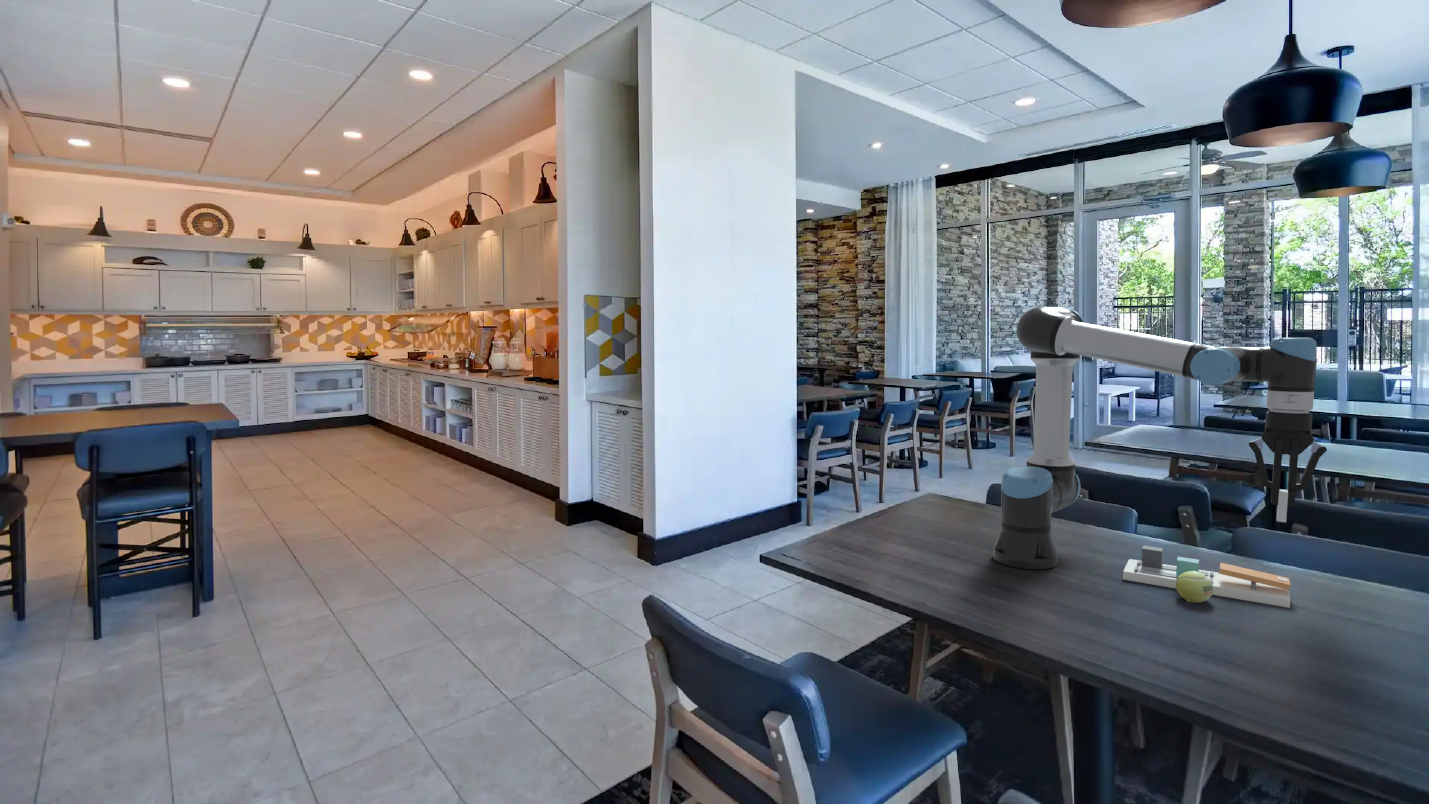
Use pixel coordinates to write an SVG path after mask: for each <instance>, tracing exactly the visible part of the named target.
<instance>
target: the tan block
mask: <svg viewBox="0 0 1429 804" xmlns="http://www.w3.org/2000/svg"><path fill="white" fill-rule="evenodd" d="M1218 573H1219V574H1223V575H1227V576H1231V577H1235V578H1240V579H1244V580H1248V581H1252V582H1257V583H1261V584H1265V585H1269V586H1274V587H1278V588H1282V589H1286V590H1289V591H1290V588H1291V581H1290V578H1289V577H1285V576H1281V575H1277V574H1272V573H1269V572H1264V571H1260V570H1255V569H1250V568H1247V567H1246V568H1245V567H1242V566H1238V565H1234V564H1230V563H1225V562H1220V564H1219V571H1218Z"/></svg>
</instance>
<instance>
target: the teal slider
mask: <svg viewBox="0 0 1429 804" xmlns="http://www.w3.org/2000/svg"><path fill="white" fill-rule="evenodd" d="M1176 566H1177V569H1176V577H1179V576H1180V575H1181V574H1183V573H1185V572H1188V571H1197V572H1199V570H1200V569H1199V568H1200V559H1197V558H1189V557H1184V556H1183V557H1182V556H1177V559H1176Z"/></svg>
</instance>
